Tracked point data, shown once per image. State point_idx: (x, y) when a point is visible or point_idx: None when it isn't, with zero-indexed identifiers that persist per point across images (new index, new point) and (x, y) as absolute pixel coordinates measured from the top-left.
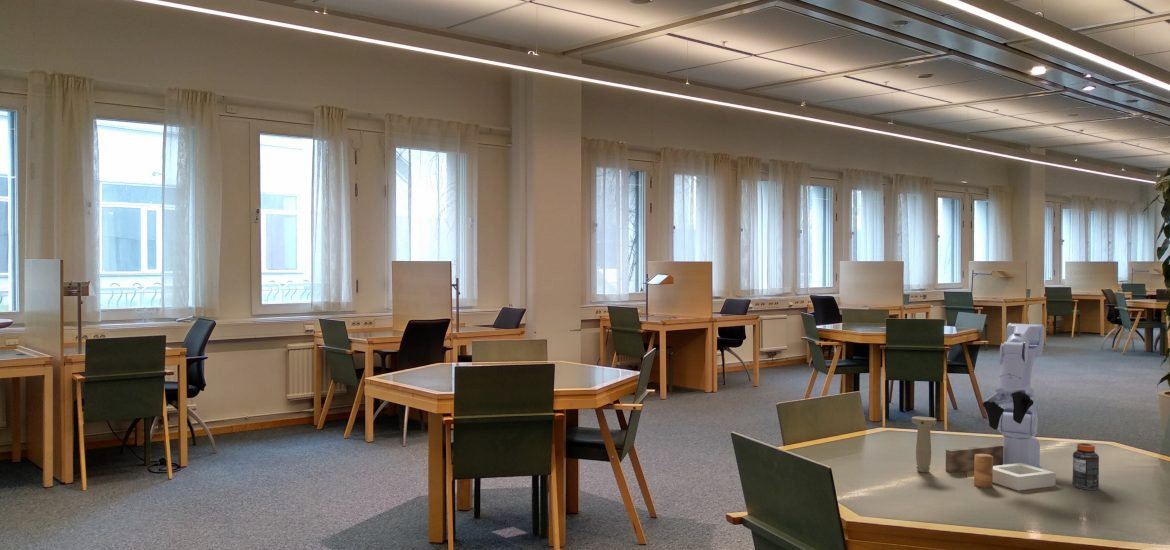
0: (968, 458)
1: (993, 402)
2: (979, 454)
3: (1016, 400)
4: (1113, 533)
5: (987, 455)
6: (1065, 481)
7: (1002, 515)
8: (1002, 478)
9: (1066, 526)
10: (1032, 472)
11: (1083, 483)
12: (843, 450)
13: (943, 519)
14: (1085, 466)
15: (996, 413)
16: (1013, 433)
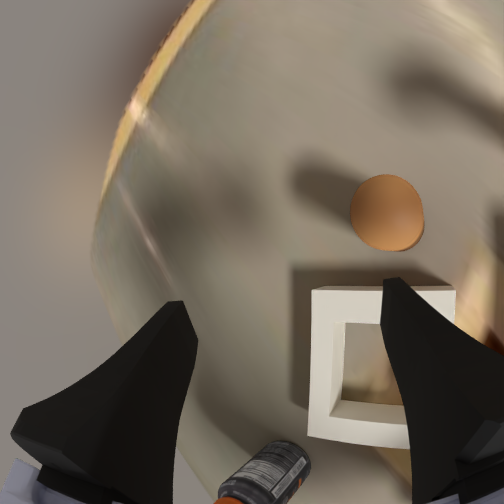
0: None
1: (468, 486)
2: (410, 210)
3: (78, 389)
4: (109, 225)
5: (384, 231)
6: (338, 470)
7: (199, 108)
8: (379, 288)
9: (137, 180)
10: (369, 415)
11: (267, 446)
12: None
13: (218, 14)
14: (241, 469)
15: (419, 413)
16: None
